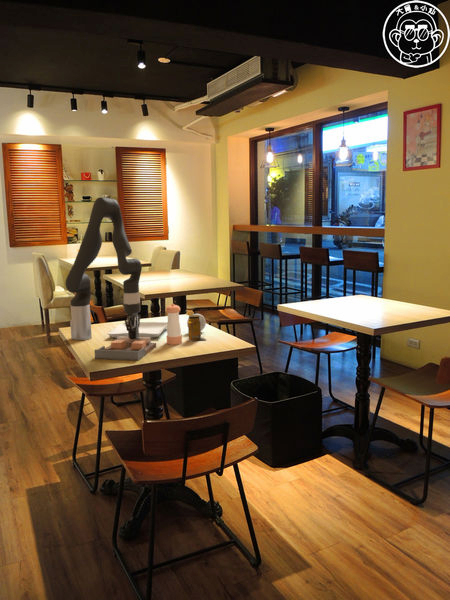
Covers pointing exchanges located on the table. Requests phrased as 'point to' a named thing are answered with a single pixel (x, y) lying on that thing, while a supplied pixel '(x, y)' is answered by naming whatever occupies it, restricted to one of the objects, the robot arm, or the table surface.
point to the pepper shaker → (173, 325)
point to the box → (119, 354)
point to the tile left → (118, 343)
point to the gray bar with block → (137, 338)
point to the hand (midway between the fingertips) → (133, 338)
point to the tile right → (138, 344)
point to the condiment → (194, 328)
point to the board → (129, 348)
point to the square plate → (141, 329)
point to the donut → (202, 321)
